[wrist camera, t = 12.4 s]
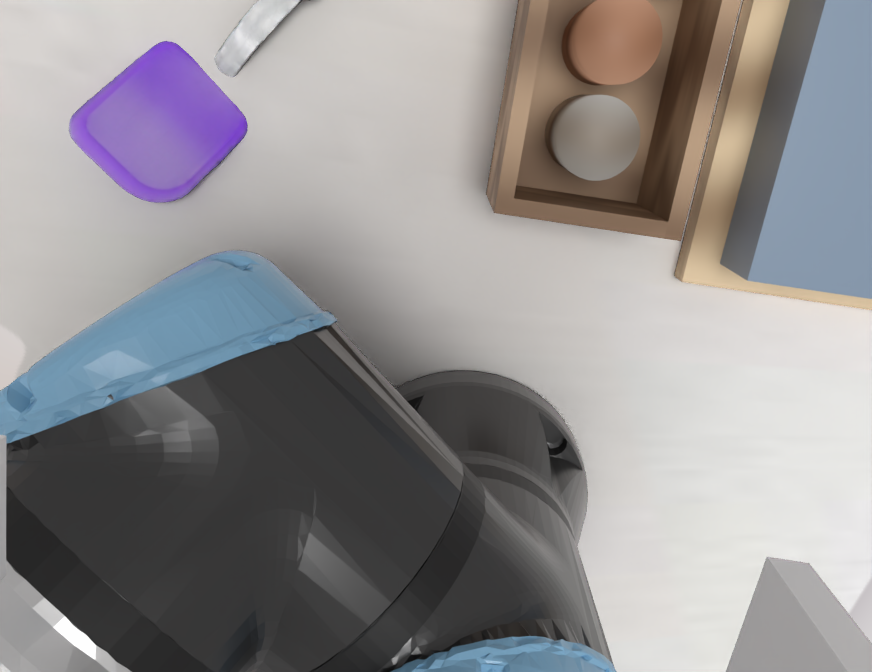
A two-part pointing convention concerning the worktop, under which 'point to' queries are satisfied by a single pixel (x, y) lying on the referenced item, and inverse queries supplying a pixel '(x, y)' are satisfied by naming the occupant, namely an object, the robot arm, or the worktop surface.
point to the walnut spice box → (608, 111)
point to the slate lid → (811, 158)
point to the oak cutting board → (738, 159)
